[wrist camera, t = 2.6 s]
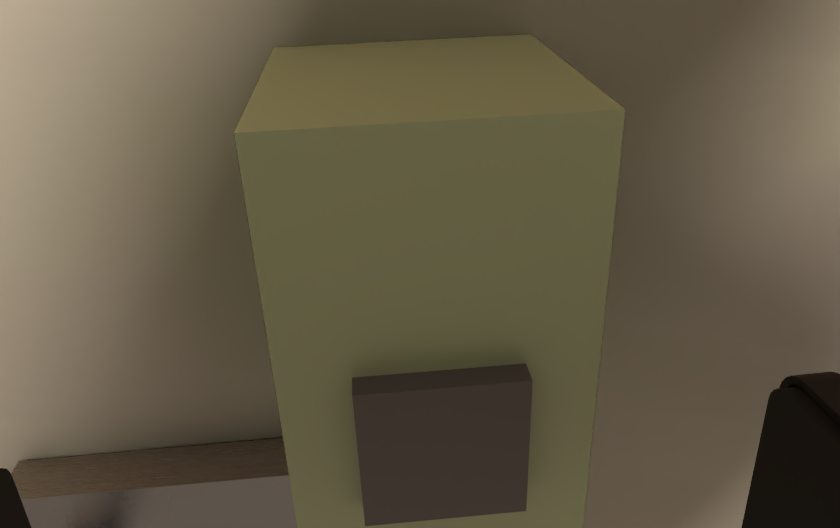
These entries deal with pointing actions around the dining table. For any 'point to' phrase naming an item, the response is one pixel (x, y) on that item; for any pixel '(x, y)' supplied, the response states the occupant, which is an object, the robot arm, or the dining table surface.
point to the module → (432, 276)
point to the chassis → (161, 488)
